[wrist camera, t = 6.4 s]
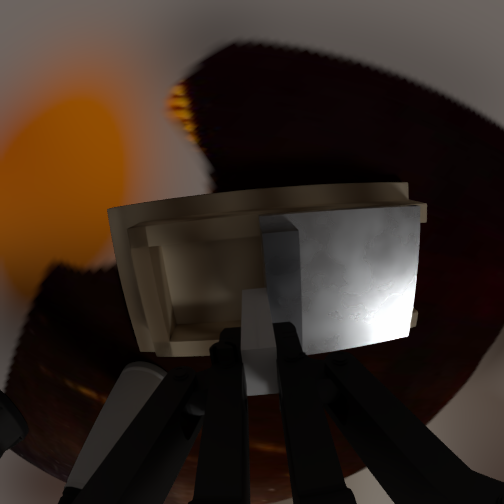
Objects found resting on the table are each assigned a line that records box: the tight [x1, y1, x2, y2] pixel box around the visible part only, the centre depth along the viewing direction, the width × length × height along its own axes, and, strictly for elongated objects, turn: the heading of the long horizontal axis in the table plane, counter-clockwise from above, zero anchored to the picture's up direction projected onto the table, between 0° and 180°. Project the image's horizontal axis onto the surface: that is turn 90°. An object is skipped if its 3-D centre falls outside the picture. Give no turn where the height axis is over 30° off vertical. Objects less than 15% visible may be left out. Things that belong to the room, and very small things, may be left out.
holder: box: [107, 182, 427, 357], centre depth 23 cm, size 26×14×4 cm, turn 95°
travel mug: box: [58, 361, 167, 504], centre depth 18 cm, size 6×7×20 cm
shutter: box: [258, 205, 420, 355], centre depth 19 cm, size 12×11×4 cm
